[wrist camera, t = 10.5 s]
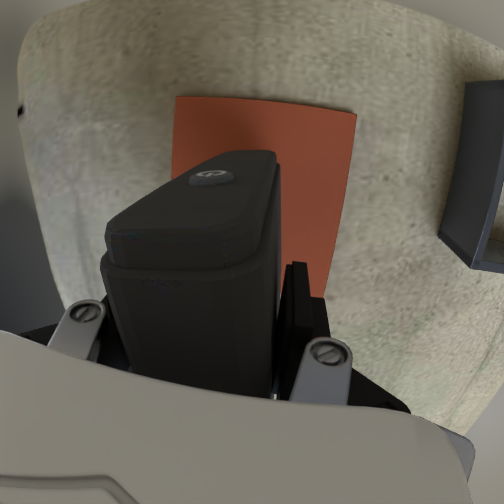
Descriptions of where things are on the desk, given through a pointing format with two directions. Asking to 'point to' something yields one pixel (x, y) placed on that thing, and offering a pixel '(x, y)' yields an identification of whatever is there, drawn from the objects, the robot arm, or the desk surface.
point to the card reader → (201, 275)
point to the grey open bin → (477, 179)
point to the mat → (290, 159)
